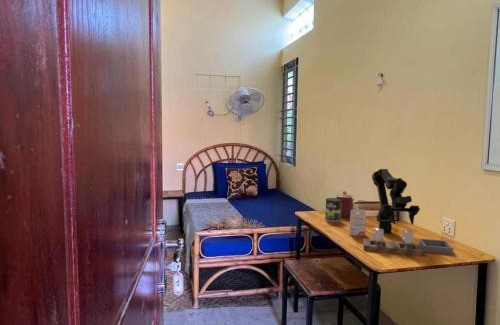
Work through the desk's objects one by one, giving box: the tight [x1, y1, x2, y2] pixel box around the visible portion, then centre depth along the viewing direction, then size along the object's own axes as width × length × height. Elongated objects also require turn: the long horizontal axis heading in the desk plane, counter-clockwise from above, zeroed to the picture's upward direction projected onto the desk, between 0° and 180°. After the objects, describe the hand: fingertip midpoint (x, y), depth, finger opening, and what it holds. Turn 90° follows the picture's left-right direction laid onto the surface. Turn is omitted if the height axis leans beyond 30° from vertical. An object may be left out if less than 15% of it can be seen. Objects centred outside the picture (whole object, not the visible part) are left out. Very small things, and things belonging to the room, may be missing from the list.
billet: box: [372, 227, 385, 246], centre depth 181 cm, size 5×5×10 cm
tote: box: [418, 238, 454, 255], centre depth 181 cm, size 13×13×3 cm
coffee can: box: [324, 197, 342, 223], centre depth 237 cm, size 10×10×14 cm
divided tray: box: [362, 238, 426, 257], centre depth 179 cm, size 28×12×2 cm, turn 75°
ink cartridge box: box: [349, 209, 367, 237], centre depth 204 cm, size 9×5×15 cm, turn 70°
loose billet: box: [401, 229, 414, 249], centre depth 177 cm, size 5×5×10 cm
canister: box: [335, 190, 355, 218], centre depth 251 cm, size 13×13×18 cm
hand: (403, 223), depth 182 cm, fingers open, 9 cm apart
